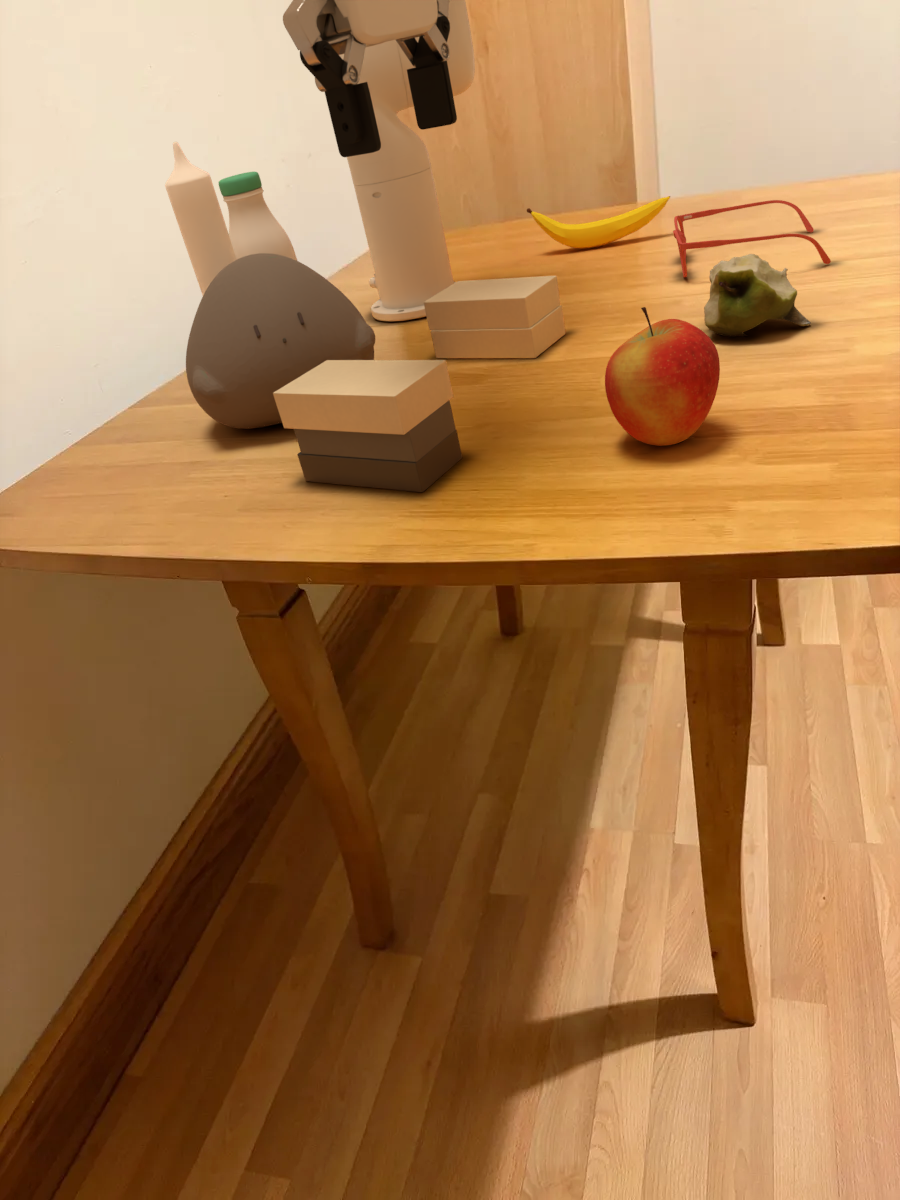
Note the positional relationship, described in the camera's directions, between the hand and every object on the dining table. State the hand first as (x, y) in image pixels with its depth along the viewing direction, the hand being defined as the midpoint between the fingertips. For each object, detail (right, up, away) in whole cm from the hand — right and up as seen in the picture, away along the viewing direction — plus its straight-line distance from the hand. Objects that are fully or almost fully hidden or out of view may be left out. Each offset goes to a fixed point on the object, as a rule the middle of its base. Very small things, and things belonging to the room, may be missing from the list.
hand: (401, 139), depth 63 cm
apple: (+20, -20, +5) cm, 29 cm away
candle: (-18, -9, +37) cm, 42 cm away
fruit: (+31, -7, +21) cm, 38 cm away
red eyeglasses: (+38, +7, +40) cm, 56 cm away
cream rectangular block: (-3, -18, +8) cm, 20 cm away
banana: (+24, +16, +59) cm, 66 cm away
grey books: (-2, -22, +10) cm, 24 cm away
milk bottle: (-16, -2, +46) cm, 49 cm away
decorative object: (-12, -13, +28) cm, 33 cm away
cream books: (+9, -6, +31) cm, 33 cm away
